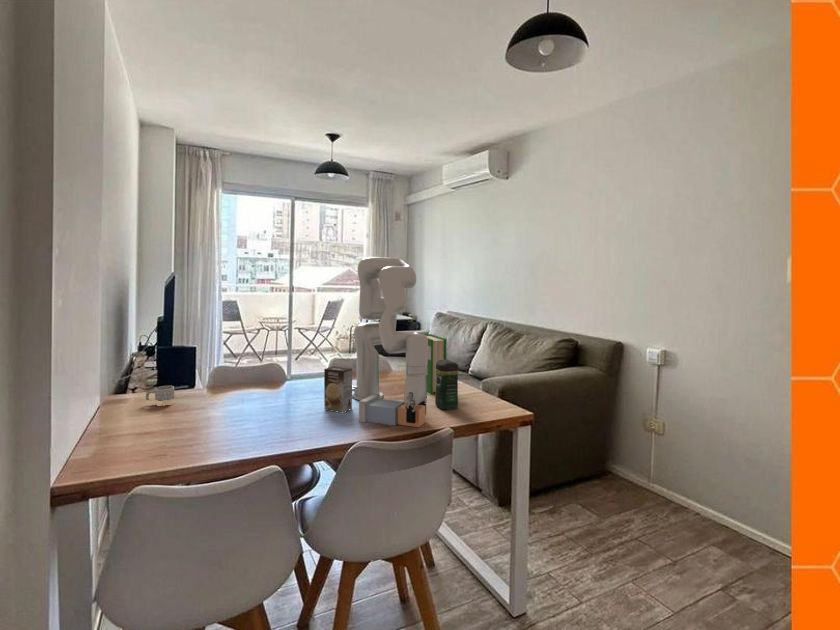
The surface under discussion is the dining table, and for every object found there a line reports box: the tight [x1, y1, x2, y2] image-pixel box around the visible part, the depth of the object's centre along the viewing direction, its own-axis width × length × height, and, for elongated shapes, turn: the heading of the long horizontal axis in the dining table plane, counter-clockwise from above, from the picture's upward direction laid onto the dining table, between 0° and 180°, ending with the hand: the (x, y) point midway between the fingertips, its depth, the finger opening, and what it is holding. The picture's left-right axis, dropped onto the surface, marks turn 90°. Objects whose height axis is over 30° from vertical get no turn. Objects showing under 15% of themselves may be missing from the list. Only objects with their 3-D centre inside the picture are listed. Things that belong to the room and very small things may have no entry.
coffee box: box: [323, 365, 353, 413], centre depth 174 cm, size 9×6×16 cm
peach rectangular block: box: [397, 403, 427, 428], centre depth 159 cm, size 8×6×6 cm
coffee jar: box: [434, 359, 460, 411], centre depth 179 cm, size 10×8×19 cm
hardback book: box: [423, 333, 448, 395], centre depth 206 cm, size 18×7×24 cm, turn 22°
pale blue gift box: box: [358, 394, 404, 427], centre depth 163 cm, size 14×11×7 cm
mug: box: [145, 385, 175, 401], centre depth 179 cm, size 10×7×7 cm, turn 108°
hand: (416, 418), depth 158 cm, fingers open, 9 cm apart
